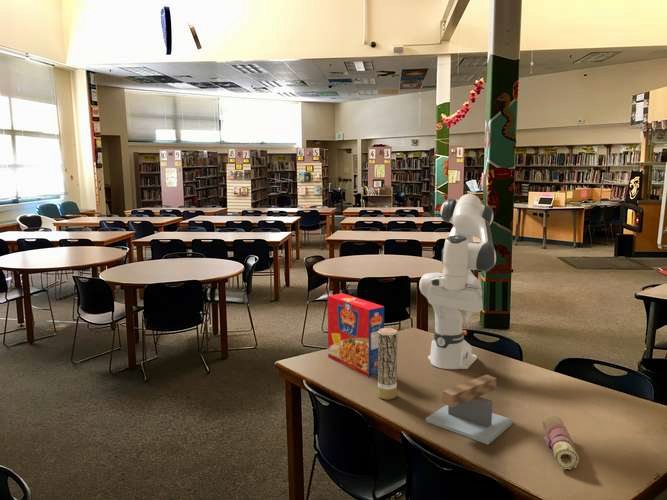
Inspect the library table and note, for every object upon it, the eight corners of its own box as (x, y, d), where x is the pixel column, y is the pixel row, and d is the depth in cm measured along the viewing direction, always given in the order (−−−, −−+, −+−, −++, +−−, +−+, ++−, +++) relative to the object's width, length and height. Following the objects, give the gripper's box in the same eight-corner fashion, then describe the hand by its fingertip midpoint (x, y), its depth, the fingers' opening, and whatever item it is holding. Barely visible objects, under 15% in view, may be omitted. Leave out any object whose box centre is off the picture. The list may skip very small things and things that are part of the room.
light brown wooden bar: (486, 385, 178) (486, 374, 177) (496, 389, 175) (496, 378, 174) (442, 402, 165) (442, 391, 164) (451, 407, 162) (452, 395, 161)
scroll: (534, 428, 164) (544, 463, 145) (546, 409, 162) (557, 442, 143) (557, 441, 163) (570, 477, 144) (569, 421, 161) (584, 456, 142)
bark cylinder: (395, 401, 187) (396, 334, 183) (376, 399, 189) (377, 333, 185) (397, 393, 194) (398, 328, 190) (379, 391, 195) (379, 327, 191)
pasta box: (328, 357, 231) (327, 295, 227) (342, 353, 236) (342, 293, 231) (368, 377, 209) (368, 309, 204) (383, 372, 213) (384, 306, 209)
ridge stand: (425, 421, 172) (426, 395, 171) (453, 403, 185) (454, 378, 184) (488, 444, 158) (489, 416, 156) (513, 423, 171) (514, 396, 169)
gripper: (486, 285, 179) (485, 323, 181) (435, 276, 192) (434, 313, 195) (478, 288, 174) (476, 328, 176) (425, 279, 188) (424, 316, 190)
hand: (453, 320), depth 186 cm, fingers open, 8 cm apart
